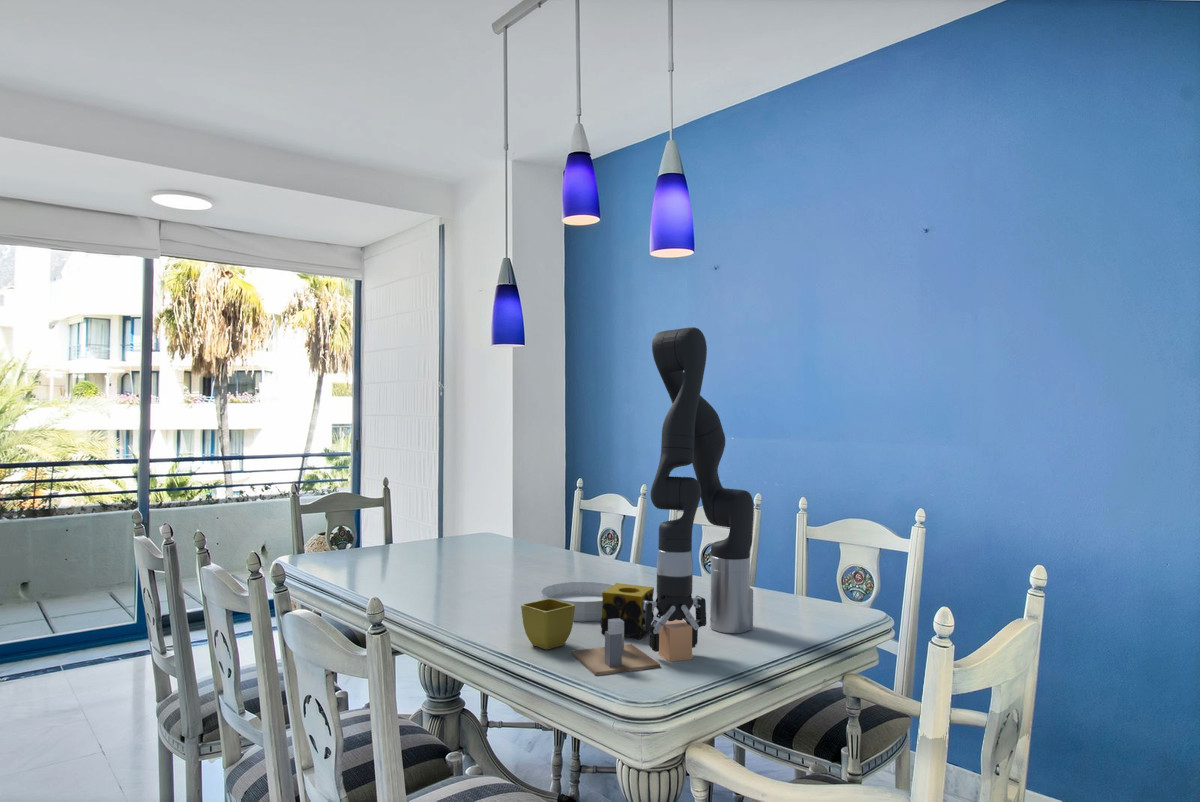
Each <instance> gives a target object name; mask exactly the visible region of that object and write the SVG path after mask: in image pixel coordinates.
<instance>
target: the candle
mask: <svg viewBox="0 0 1200 802" xmlns="http://www.w3.org/2000/svg"><path fill="white" fill-rule="evenodd" d="M612 585H613V586H611V587H610V588H608V589H607V590H605V591H604V592H602V598H603V600H602V603H603V605H602V618H601V620H600V621H601V622H600V628H601V631H600V633H601V634H602V635H604V636H605V631H608V619H616V618H620V619H621V620H623V621H624V639H625V638H626V639H635V640H642V639H643V638H645V636H646V635H647V634H648V633H649V632H647V631H645V630H644V629H642V628H641V614H642V602H643V601H644V600H647V601H654V592H655V591H654V590H655V587H653V586H647V585H640V584H639V585H638V584H637V585H636V584H628V583H619V582H616V583H614V584H612ZM654 616H655V614H654V611H653V612H652V619H651V623H652V621H653V618H654ZM649 634H650V633H649Z"/></svg>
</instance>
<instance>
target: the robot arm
mask: <svg viewBox="0 0 1200 802" xmlns="http://www.w3.org/2000/svg"><path fill="white" fill-rule="evenodd" d="M707 348H708V347H707V340H706V337H705V335H704V333H703V331H702V330H700V328H697V327H695V326H693V327H692V326H691V327H684V328H678V329H677V328H676V329H675V328H674V329H669V330H664V331H663V330H662V331H659V332H657V333H656V334H654V336H653V339H652V341H651V350H652V351H651V352H652V356H653V360H654V363H655V364H654V365H655V366H656V368H657V371H658V373H659V376H660V378H661V380H662V382H663V384H664V388H665V389H666V392H667V393H668V396H669V398H670V402H671V406H670V408H669V409H668V411H667V413H666V415H665V418H664V420H663V424H662V427H661V428H662V429H661V441H660V443H661V444H660V445H661V448H660V459H659V463H658V466H657V470H656V473H655V476H654V480H653V481H652V484H651V485H652V486H651V488H650V500H651V503H652V505H653V506H654V507H655V508H656V509H658V510H668V511H669V510H670V511H683V513H682V514H681V517H678V518H677V519H672V520H671V519H670V520H666V521H665V520H664V521H663V522H661V523H660V524H659V526H658V545H657V546H658V549H657V550H658V551H657V557H656V599H655V600H653V601H647V600H644V601H643V602H642V614H641V628H642V629H644V630H645V631H647V632H649V640H648V641H649V648H651V649H652V651H653V652H655V653H657V652H658V651H659V630H660V629H661V627H662V626H664V625H665V624H666V622H667V621H674V620H682V621H684V622H686V623H687V624H689V625H691V626H692V649H693V648H696V646H697V645H698V635H699V634H698V633H699V632H698V631H699V629H700V628H701V627H706V625H707V605H706V603H707V602H706V598H704V597H702V596H700V595H696V596H695V597H693V596H692V595H693V573H694V572H693V570H694V566H693V565H694V562H693V553H692V549H693V548H692V547H693V544H692V543H693V542H692V541H693V527H694V521H695V518H696V513H697V510H698V507H699V505H700V500H701V505H702V508H703V512H704V515H705V517H706V519H707V521H708V522H709V523H710V524H711V525H713V526H716V527H722V528H729V532H728V533H729V534H728V536H727V538H724V539H722V540H718V541H714V542H713V543H711V546H710V611H709V614H710V619H709V622H710V625H709V627H710V629H711V630H713V631H716V632H720V633H725V634H741V633H742V634H743V633H746V632H748V631H751V630H753V629H754V589H753V588H751V577H750V576H751V548H752V544H753V533H754V531H753V530H754V518H755V504H754V499H753V497H752V494H751V493H750V492H749V491H747V490H745V489H737V488H736V489H735V488H727V487H725V488H724V487H723V485H722V483H721V481H720V475H719V470H718V469H719V465H720V462H721V460H722V457H723V454H724V451H725V448H726V435H725V432H724V428H723V425H722V423H721V419H720V416H719V414H718V412H717V411H716V410H715V408H714V407H713V406H712V404H710V403H709V401H707V400H706V399H705V398H704V397H703V396H702V395H701V391H702V386H703V379H704V374H705V370H706V362H707V353H708V349H707ZM689 465H692V467H693V468H692V469H693V470H694V473H695V477H696V478H694V477H691V476H670V474H671V472H672V471H674V470H675V469H677V468H681V467H686V466H689ZM692 607H694V608H695V610H694V611H695V617H694V616H693V614H692V613H691V611H690V610H691V609H692ZM655 609H657V612H656V613H655V614H654V618H653V621H652V623H651V619H652V612H653V613H654V611H655Z"/></svg>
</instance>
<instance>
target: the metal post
mask: <svg viewBox="0 0 1200 802" xmlns="http://www.w3.org/2000/svg"><path fill="white" fill-rule="evenodd" d="M613 630H617V631H619V632H620V633H622V652H624V645H625V637H624V621H623V620H621V619H620V618H616V619H608V631H613Z"/></svg>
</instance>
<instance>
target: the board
mask: <svg viewBox="0 0 1200 802" xmlns="http://www.w3.org/2000/svg"><path fill="white" fill-rule="evenodd" d="M570 652H571V653H570V654H571V655H572V656H573V657H574V658H576V659H577V661H579V663H581V664H582V665H583V666H584V667H585V668H586V669H588V671H589V672H590V673H592V674H593V675H594V676H603V675H609V674H617V673H626V672H634V671H641V670H647V669H657V668H660V667H661V663H659V662H658V661H656V660H655V659H653V658H652V657H650V656H649V655H648V654H647V653H645V652H643V651H642V650H640V649H639V648H638V647H637V646H636V645H633V644H632V643H630V644H624V652H622V666H617V667H608V666H607V665H606V664H605V646H604V647H601V646H600V647H594V648H584V649H575V650H571V651H570Z"/></svg>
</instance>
